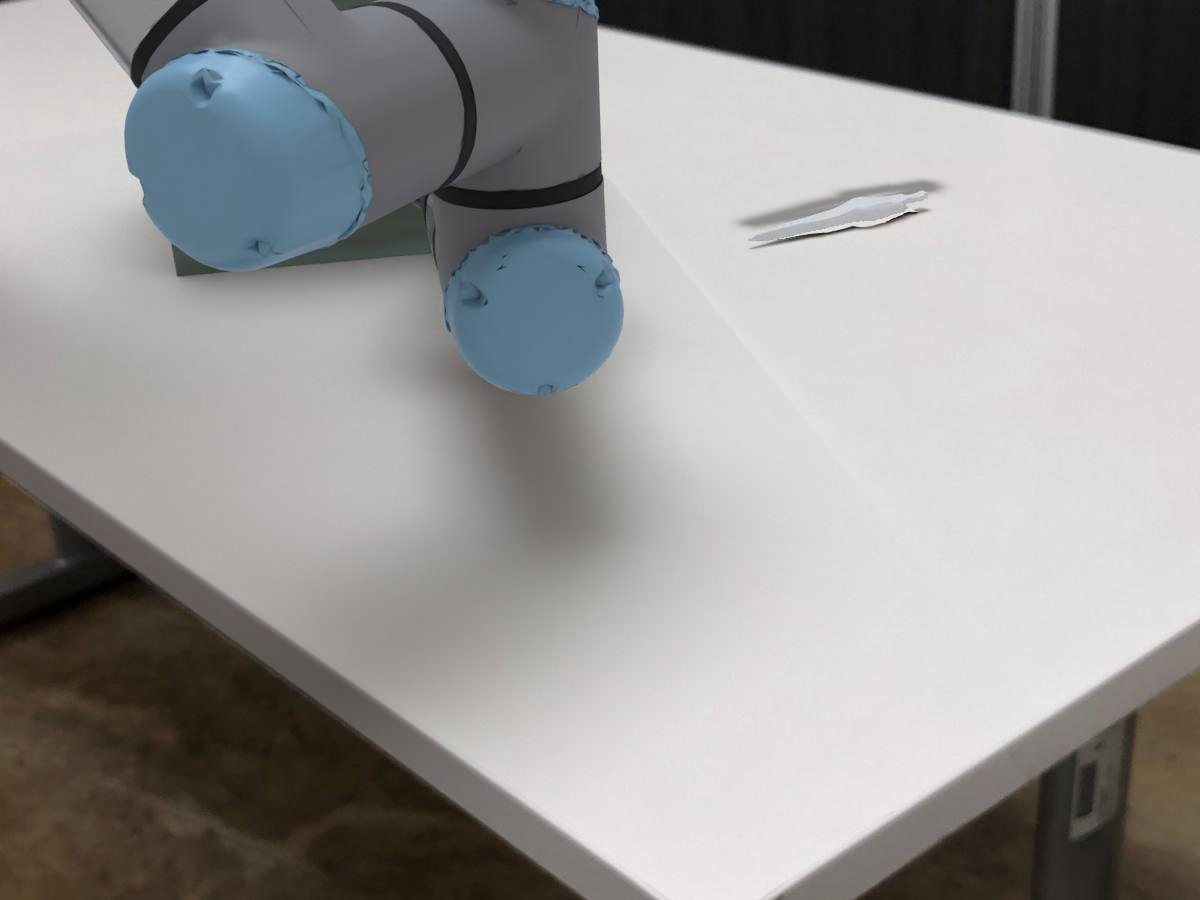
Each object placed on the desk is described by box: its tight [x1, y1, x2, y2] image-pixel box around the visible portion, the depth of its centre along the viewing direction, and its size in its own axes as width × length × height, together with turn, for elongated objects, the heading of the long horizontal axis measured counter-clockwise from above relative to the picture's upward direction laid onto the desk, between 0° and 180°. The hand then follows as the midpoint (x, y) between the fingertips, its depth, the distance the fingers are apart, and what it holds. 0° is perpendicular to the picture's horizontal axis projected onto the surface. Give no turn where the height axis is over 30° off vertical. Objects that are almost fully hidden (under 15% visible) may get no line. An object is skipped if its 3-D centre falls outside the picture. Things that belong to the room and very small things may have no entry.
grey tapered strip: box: [747, 189, 928, 243], centre depth 110 cm, size 15×3×2 cm, turn 116°
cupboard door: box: [170, 0, 433, 278], centre depth 97 cm, size 7×22×24 cm, turn 98°
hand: (455, 98), depth 100 cm, fingers closed on cupboard door, 2 cm apart
